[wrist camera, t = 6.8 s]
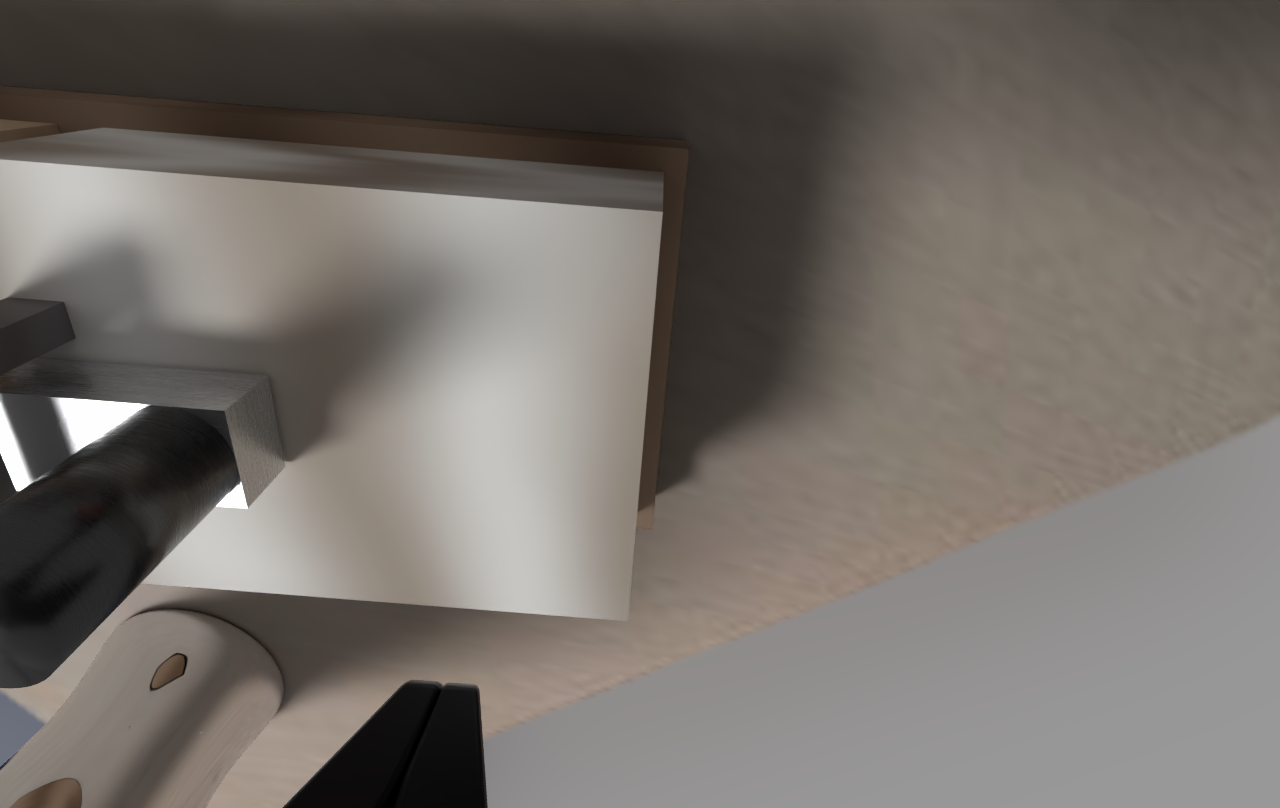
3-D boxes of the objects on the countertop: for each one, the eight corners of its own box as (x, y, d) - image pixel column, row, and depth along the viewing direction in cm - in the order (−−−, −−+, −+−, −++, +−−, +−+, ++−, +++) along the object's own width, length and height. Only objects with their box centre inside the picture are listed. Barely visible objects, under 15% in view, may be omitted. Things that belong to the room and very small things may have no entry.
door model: (-55, 442, 20) (-438, 653, 13) (-226, 68, 16) (-951, 85, 9) (653, 497, 20) (645, 737, 13) (687, 140, 16) (704, 217, 9)
